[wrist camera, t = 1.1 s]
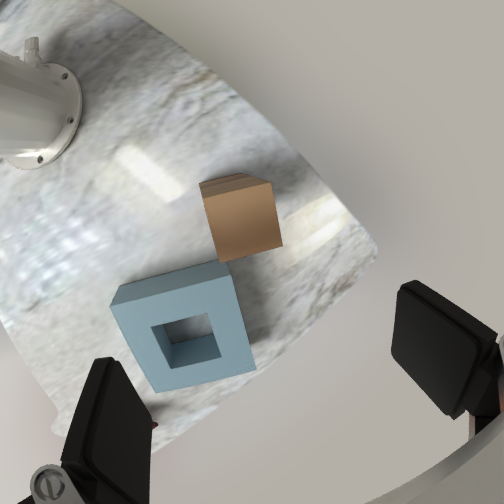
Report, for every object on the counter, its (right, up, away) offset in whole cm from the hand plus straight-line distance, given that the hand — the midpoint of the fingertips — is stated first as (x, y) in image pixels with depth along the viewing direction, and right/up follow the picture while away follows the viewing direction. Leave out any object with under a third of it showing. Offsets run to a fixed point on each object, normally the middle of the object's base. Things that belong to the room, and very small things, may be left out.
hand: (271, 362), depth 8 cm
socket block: (-9, -5, +26) cm, 27 cm away
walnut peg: (-3, +9, +22) cm, 24 cm away
